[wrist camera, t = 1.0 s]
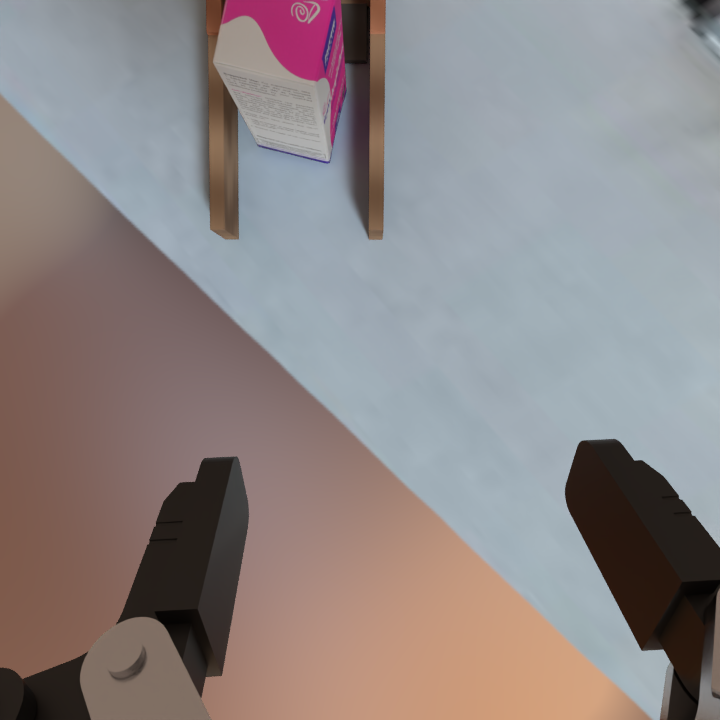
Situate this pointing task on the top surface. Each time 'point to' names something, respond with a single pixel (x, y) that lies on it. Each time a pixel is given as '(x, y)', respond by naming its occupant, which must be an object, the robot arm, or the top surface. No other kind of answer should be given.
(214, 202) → the channel
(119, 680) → the robot arm
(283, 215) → the top surface
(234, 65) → the supplement box
